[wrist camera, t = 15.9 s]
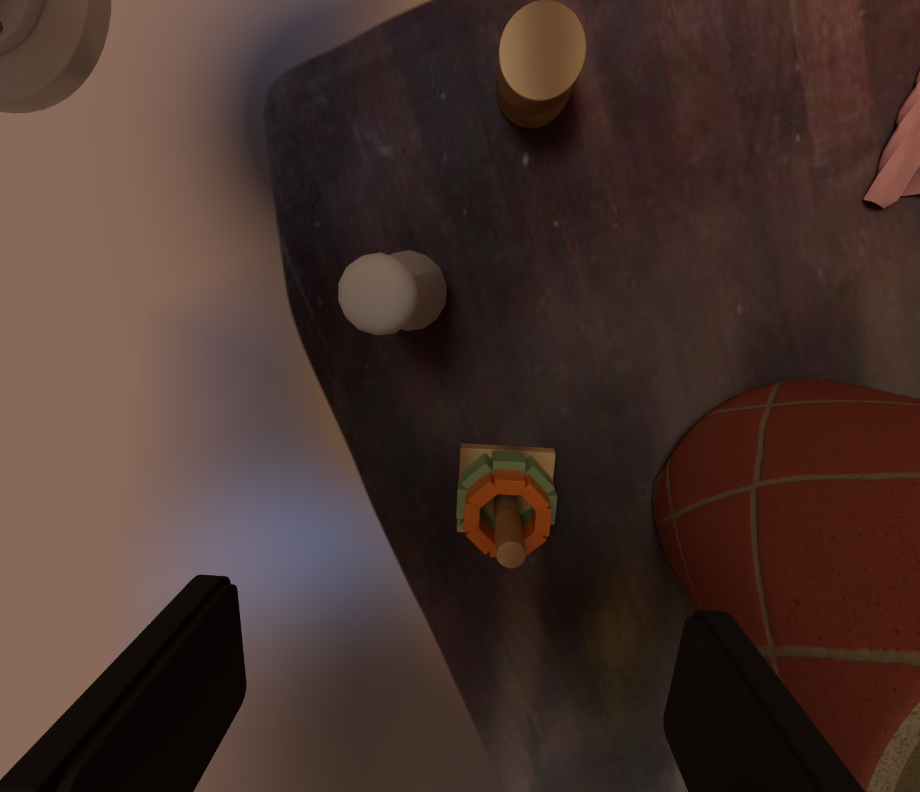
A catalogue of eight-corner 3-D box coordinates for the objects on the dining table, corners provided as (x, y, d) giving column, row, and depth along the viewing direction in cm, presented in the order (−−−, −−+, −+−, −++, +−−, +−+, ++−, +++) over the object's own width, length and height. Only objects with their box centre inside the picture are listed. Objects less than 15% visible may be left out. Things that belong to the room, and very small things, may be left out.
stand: (494, 127, 32) (496, 99, 27) (498, 44, 30) (501, -2, 25) (566, 129, 31) (581, 101, 27) (574, 45, 30) (591, 0, 25)
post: (457, 525, 40) (449, 602, 30) (461, 442, 38) (453, 497, 28) (545, 530, 39) (565, 610, 30) (553, 447, 37) (578, 504, 28)
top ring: (463, 540, 36) (462, 555, 34) (466, 467, 34) (466, 478, 32) (543, 546, 36) (546, 561, 34) (550, 472, 34) (554, 483, 32)
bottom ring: (456, 532, 39) (454, 548, 36) (460, 447, 37) (458, 458, 34) (547, 538, 38) (551, 554, 36) (556, 453, 36) (561, 464, 34)
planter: (734, 647, 41) (1038, 1085, 19) (584, 481, 38) (733, 773, 15) (967, 505, 37) (1747, 862, 14) (820, 302, 33) (1534, 341, 11)
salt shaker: (366, 269, 35) (299, 260, 22) (432, 241, 34) (402, 215, 21) (395, 338, 36) (347, 367, 23) (459, 312, 35) (446, 328, 22)
